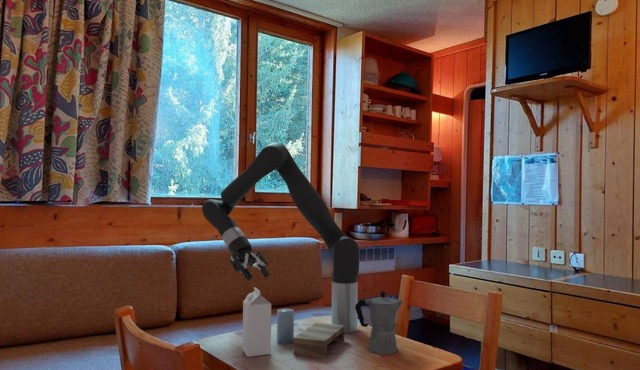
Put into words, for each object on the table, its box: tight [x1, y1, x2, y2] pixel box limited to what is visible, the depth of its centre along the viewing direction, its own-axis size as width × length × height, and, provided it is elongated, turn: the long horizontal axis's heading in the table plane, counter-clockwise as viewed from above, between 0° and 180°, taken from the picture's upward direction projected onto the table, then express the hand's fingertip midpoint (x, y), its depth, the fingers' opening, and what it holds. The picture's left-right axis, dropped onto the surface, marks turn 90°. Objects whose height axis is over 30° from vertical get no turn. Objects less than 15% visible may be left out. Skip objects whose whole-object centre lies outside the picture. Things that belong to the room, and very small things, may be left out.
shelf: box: [292, 322, 346, 360], centre depth 144 cm, size 19×10×5 cm, turn 159°
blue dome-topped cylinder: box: [276, 308, 295, 345], centre depth 150 cm, size 6×6×10 cm
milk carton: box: [242, 287, 272, 358], centre depth 139 cm, size 7×7×19 cm
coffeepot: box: [355, 290, 404, 355], centre depth 142 cm, size 15×9×18 cm, turn 101°
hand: (259, 277), depth 158 cm, fingers open, 8 cm apart
